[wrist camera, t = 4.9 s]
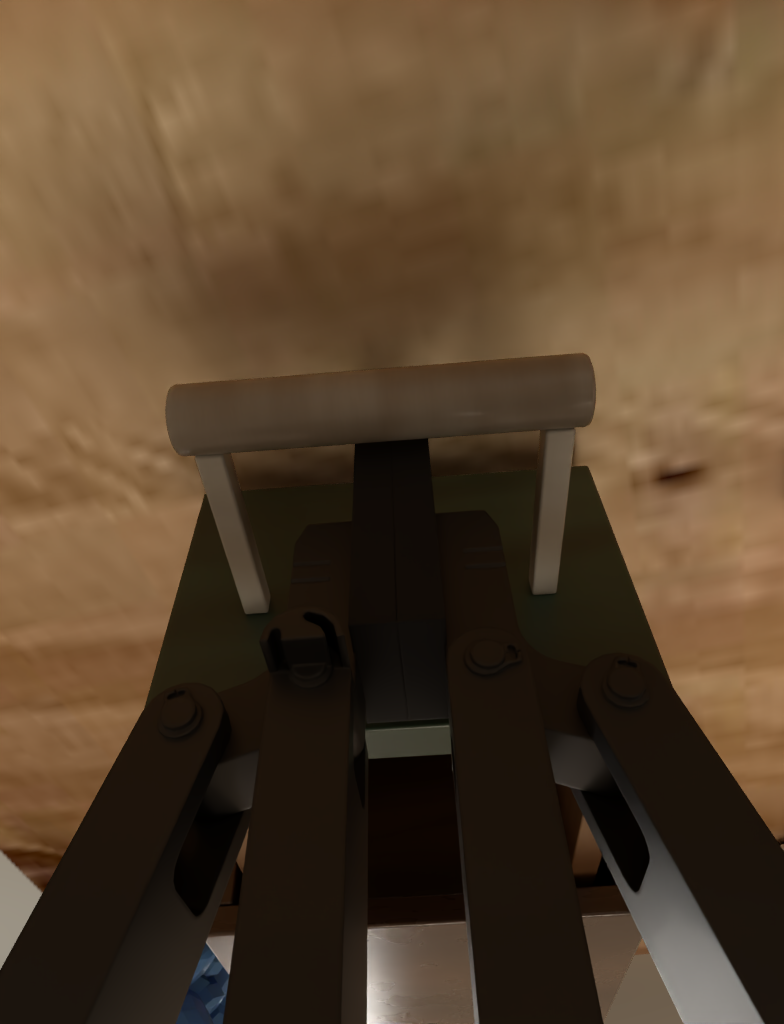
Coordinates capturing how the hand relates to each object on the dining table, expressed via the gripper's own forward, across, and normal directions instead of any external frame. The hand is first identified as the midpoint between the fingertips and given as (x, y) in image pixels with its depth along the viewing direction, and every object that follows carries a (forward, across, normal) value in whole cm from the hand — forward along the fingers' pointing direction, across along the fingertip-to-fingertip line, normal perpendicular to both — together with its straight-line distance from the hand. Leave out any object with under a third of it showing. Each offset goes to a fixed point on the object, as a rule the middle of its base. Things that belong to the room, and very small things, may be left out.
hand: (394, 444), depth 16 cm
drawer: (+3, 0, -7) cm, 8 cm away
